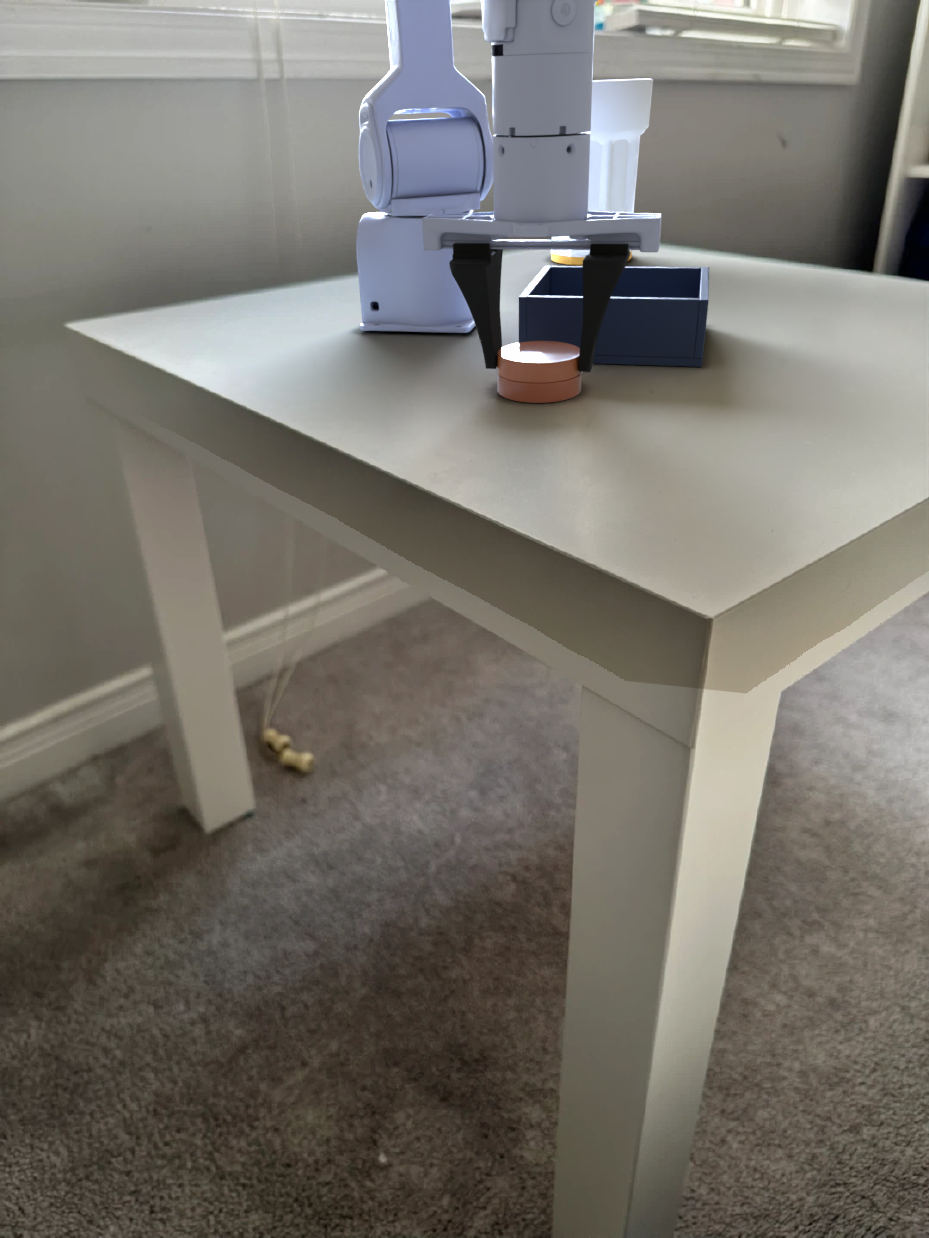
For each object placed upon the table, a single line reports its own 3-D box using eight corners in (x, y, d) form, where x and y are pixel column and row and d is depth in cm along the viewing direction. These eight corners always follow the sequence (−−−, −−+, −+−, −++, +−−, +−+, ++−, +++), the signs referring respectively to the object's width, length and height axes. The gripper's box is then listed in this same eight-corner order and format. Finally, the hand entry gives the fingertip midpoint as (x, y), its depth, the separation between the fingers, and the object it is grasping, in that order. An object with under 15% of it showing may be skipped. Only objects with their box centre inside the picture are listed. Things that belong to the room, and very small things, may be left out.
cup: (644, 250, 107) (656, 78, 98) (638, 268, 97) (650, 79, 88) (548, 250, 109) (551, 81, 100) (533, 267, 100) (535, 83, 91)
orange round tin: (489, 401, 59) (489, 361, 58) (505, 377, 64) (505, 339, 63) (575, 405, 58) (576, 364, 57) (585, 380, 63) (587, 341, 61)
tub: (518, 361, 67) (518, 296, 65) (543, 322, 77) (544, 265, 75) (701, 367, 65) (708, 300, 62) (703, 326, 75) (709, 267, 72)
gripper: (403, 141, 51) (417, 379, 58) (664, 136, 48) (646, 388, 55) (434, 133, 57) (443, 351, 64) (669, 128, 54) (652, 357, 61)
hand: (538, 366), depth 60 cm, fingers closed on orange round tin, 5 cm apart
